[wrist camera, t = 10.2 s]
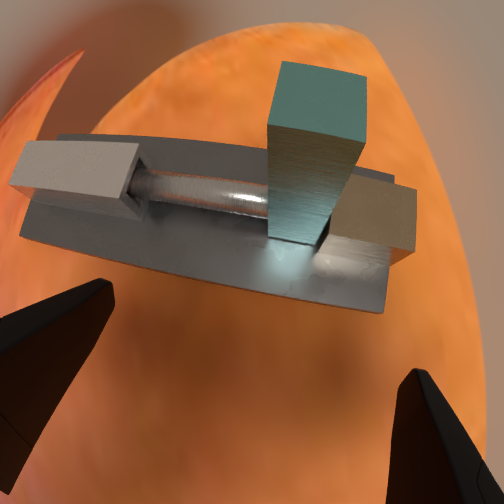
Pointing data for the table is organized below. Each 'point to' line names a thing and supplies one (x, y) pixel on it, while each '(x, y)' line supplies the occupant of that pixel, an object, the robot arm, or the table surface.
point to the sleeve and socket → (212, 219)
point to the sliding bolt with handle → (285, 157)
